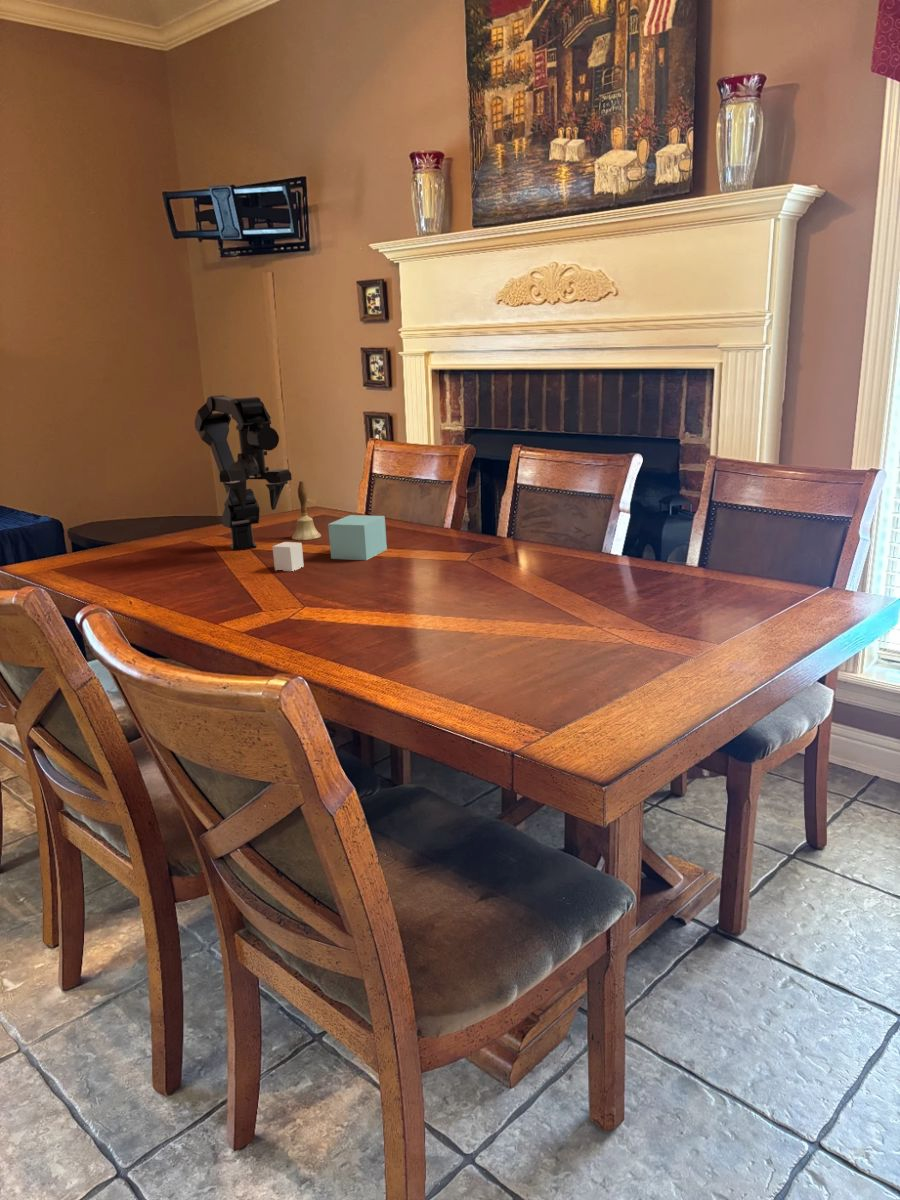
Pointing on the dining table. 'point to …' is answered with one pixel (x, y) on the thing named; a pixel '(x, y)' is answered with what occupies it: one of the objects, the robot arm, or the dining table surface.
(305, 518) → the hand bell
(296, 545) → the white block
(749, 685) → the dining table surface
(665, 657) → the dining table surface
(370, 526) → the teal block
